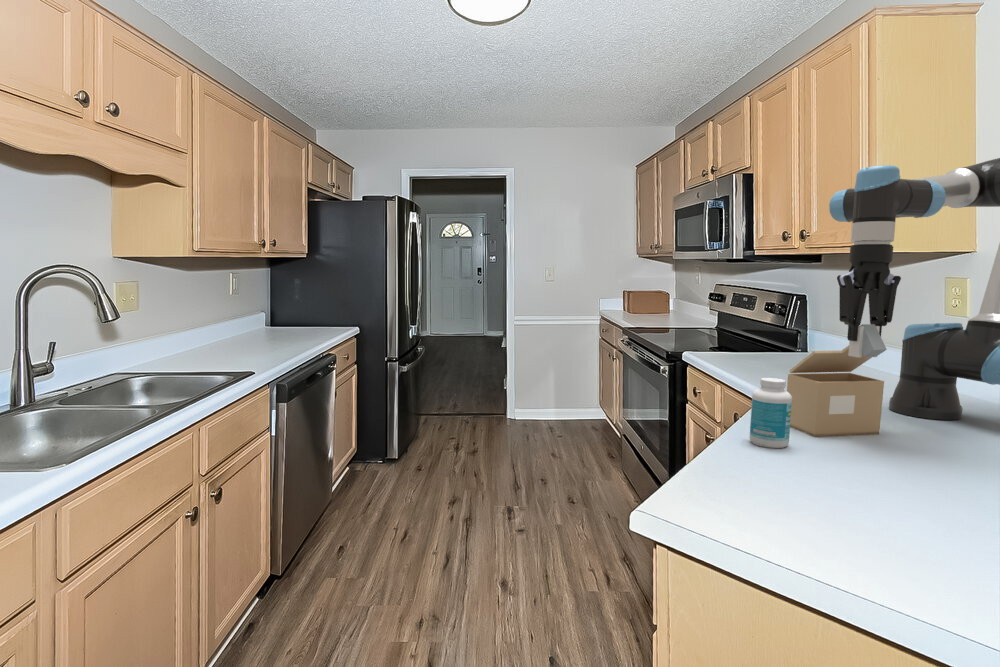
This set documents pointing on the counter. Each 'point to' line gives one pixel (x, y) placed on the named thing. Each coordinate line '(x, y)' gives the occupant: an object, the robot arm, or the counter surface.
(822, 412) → the carton
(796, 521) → the counter surface
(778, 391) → the pill bottle
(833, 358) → the flap
